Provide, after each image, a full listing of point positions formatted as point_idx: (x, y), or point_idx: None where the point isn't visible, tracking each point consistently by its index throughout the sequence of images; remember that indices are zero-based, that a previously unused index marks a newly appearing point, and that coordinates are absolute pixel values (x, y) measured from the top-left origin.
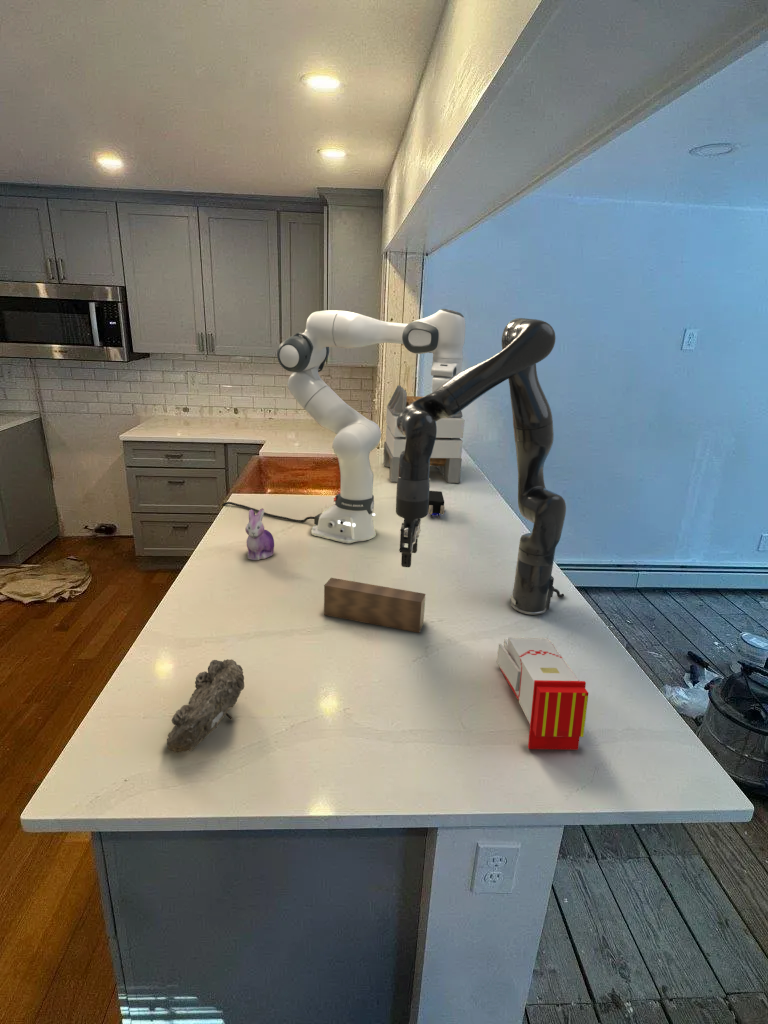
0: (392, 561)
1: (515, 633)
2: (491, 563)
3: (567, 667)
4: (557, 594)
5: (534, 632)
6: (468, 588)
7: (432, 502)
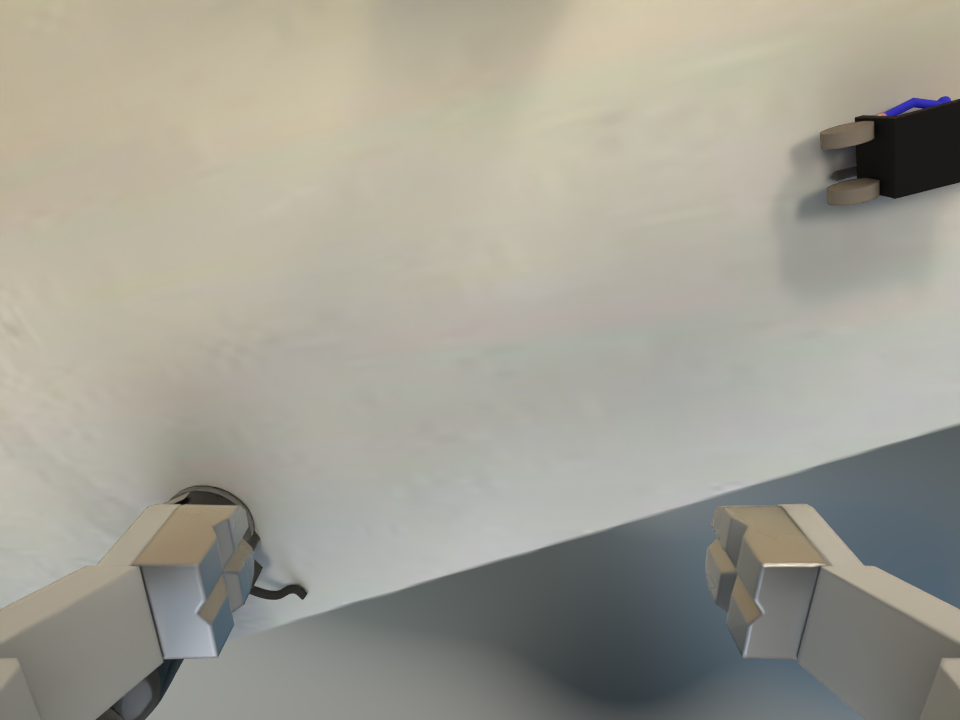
0: (315, 87)
1: (63, 501)
2: (443, 418)
3: None
4: (281, 589)
5: (93, 537)
6: (236, 374)
7: (889, 138)
